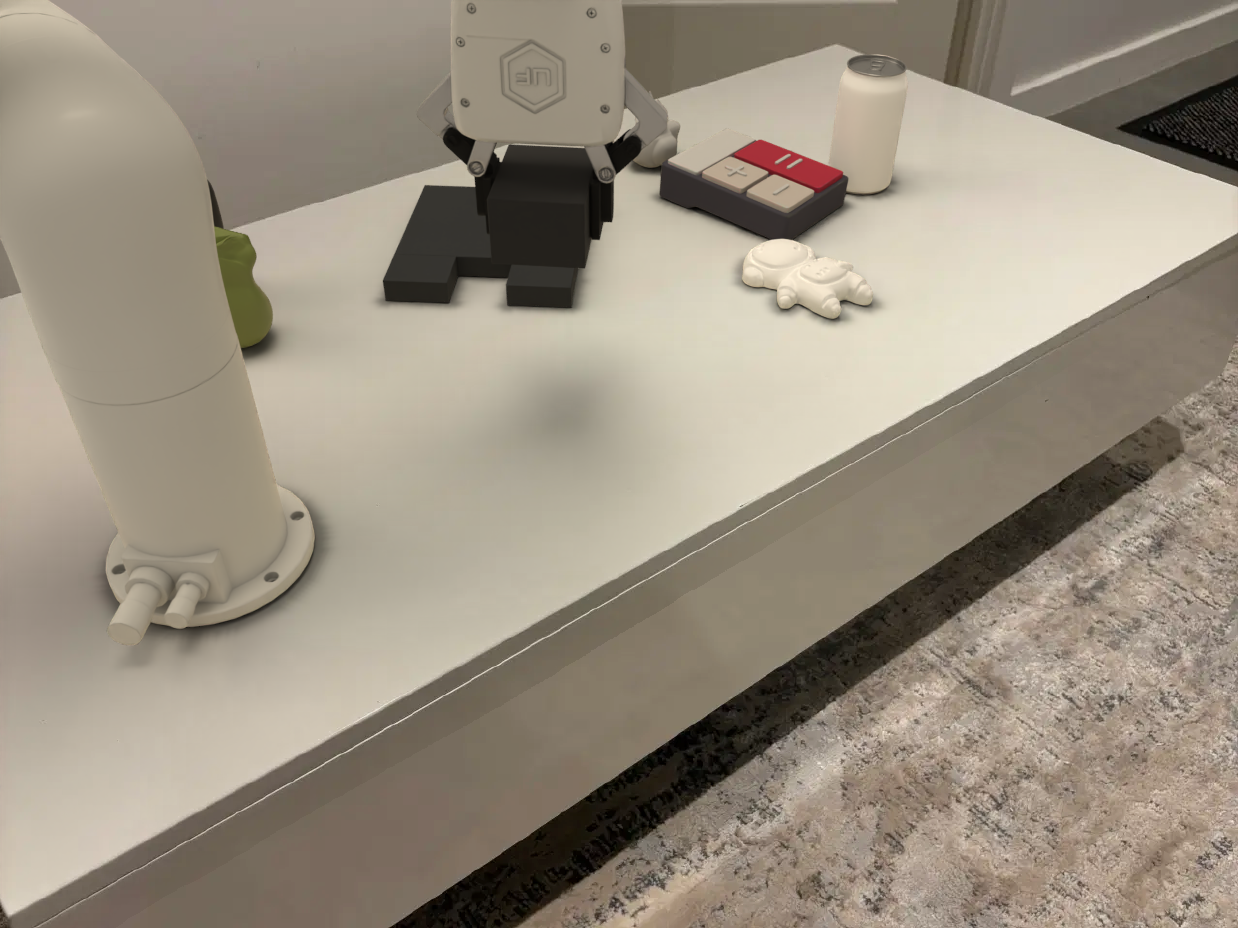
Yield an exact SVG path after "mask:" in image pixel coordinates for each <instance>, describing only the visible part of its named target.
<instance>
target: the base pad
mask: <svg viewBox="0 0 1238 928" xmlns="http://www.w3.org/2000/svg"><path fill="white" fill-rule="evenodd" d="M578 272H579V268H564V267H546V266H528V265H509V264H493V263H492V262H491V248H490V235H489V234H487V230H486V217H485V216H478V213H477V203H476V191H475V186H464V185H461V186H460V185H436V184H435V185H433V184H425V185H424V186H423V188H422V191H421V192H420V195H419V197H418V199H417V202H416V203H415V206H414V209H413V211H412V213H411V215H410V217H409V220H408V223H407V224H406V227H405V229H404V232H403V233H402V236H401V238H400V240H399V243H398V245H397V247H396V249H395V252H394V254H393V256H392V258H391V261H390V262H389V265H388V267H387V270H386V272H385V274H384V277H383V279H382V285H383V292H384V298H385V301H388V302H389V301H390V302H411V303H412V302H416V303H439V304H440V303H443V304H450V301H451V299H452V295H453V292H454V290H455V286H456V284H457V280H458V277H477V278H478V277H479V278H480V277H481V278H506V279H507V280H506V283H505V291H506V305H507V306H514V307H515V306H516V307H517V306H518V307H539V308H541V307H543V308H567V309H569V308H570V309H572V306H573V302H574V295H575V289H576V285H577V277H578Z"/></svg>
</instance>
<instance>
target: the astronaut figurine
mask: <svg viewBox="0 0 1238 928" xmlns="http://www.w3.org/2000/svg"><path fill="white" fill-rule="evenodd" d="M853 269H854V265H853V263H850V262H848V261H844V260H838V259H835V258H830V257H818V258H816V253H815V251H814V249H813V248H812V247H810V246H809V245H806V244H803V243H801V242H798V241H796V240H793V239H792V240H788V239H774V240H771V239H769V240H767V241H766V240H765V241H764V242H761V243H759V244H758V245H756V246H754V247H752V248H751V249H750V250H749V251H748V252H747V254H746V255H745V258H744V260H743V262H742V274H741V279H742V281H743V283H744V284H745V285H747V286H750V287H753V288H766V289H769V290H770V289H771V290H775V291H776V301H777V305H778V307H779V308H780V309H781V310H782V309H783V310H787V309H790V308H792V307H793V306H795V305H796V304H797V305H801V306H803V307H805V308H807V309H808V310H810V311H811V312H813V313H815V314H817V315H819V316H822V317H824V318H827V319H832V320H833V319H836V318H838V317H839V316H840V314H841V312H842V306H841V301H848V302H851V303H854V304H856V305H860V306H869V305H870V304H871V303H872V301H873V298H874V292H873V290H872V286H871V285H870V284H868V282H867V280H866V279H865V278H864V276H861V275H859V274H858V273H856V272H854V271H853Z"/></svg>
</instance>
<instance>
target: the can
mask: <svg viewBox="0 0 1238 928" xmlns="http://www.w3.org/2000/svg"><path fill="white" fill-rule="evenodd" d="M846 65H847V66H846V68H845V69H844V71H843V73H842V74H841V76H840V80H839V86H838V93H837V98H836V107H835V112H834V121H833V128H832V133H831V134H832V135H831V141H830V150H829V155H828V157H829V158H828V164H827V165H828V166H831V167H833V168H836V169H838V170H841V171H843V175H845V176H847V177H848V184H847V189H846V194H850V195H851V194H852V195H862V196H865V195H866V196H867V195H876V194H878V193H881V192H883V191H884V190H885V189H886V188H888V187H889V186H890V185H891V183H892V177H893V172H894V167H895V162H896V156H897V150H898V145H899V140H900V134H901V130H902V129H901V128H902V122H903V117H904V113H905V105H906V100H907V95H908V87H909V81H908V76H907V74H906V71H907V69H908V66H907V64H906V63H905V62H904V61H903V60H901V59H899V58H896V57H893V56H890V55H885V54H876V53H866V54H859V55H855V56H852V57H850V58H849V59H848V60H847V62H846Z"/></svg>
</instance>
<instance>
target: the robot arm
mask: <svg viewBox="0 0 1238 928" xmlns="http://www.w3.org/2000/svg"><path fill="white" fill-rule="evenodd" d="M622 1H623V0H450V24H449V25H450V28H449V29H450V36H449V37H450V38H449V39H450V42H449V43H450V45H449V46H450V48H449V49H450V71H449V72H448V73H446V75H445V76H444V77H443V78H442V79H441V81H440V82H438V83H437V85H436V86H435V87H434V88H433V89H432V90H431V91H430V92H429V93H428V94H427V96H425V97H424V99H423V100H422V102H420V105H419V106H418V108H417V109H416V117H417V118H418V120H419V121H420V122H421V123H423V125H424V126H426V127H427V129H429V130H430V131H431V132H432V133H433V134H434V135H436V137H439V138H440V139H441V140H442V142H443V144H444V145H445V147H446V148H447V149H448V150H449V151H450V152H452V153H453V154H454V155H455V156H456V158H458V159H459V160H460V161H461V162H462V163H464V165H466V170H467V172H468V173H469V174H470V175H471V176H472V177H474V187H475V191H476V203H477V213H478V216H485V217H486V230H487V234H489V222H488V208H487V198H488V195H489V193H490V190H491V188H492V185H493V183H494V180H495V178H496V175H497V173H498V170H499V168H500V165H501V163H502V161H500V160H501V159H500V157H498V155H497V153H495V150H496V147H497V145H498V143H499V144H500V143H501V144H514V145H534V146H556V147H583V148H585V150H586V152H587V155H588V157H589V159H590V162H591V164H592V166H593V168H592V172H591V176H590V180H589V233H590V238H592V240H591V241H601V236H602V232H603V228H604V223H613V220H614V210H615V180H616V176H617V175H618V174H619V173H620V172H622V171H623V169H625V168H626V167H627V166H628V165H629V164H630V163H632V162H633V160H634V159H635V158H636V157H637V156H638V155H639V154H640V152H641V151H642V150H643V149H644V148H645V147H646V146H648V145H649V144H651V143H652V142H653V141H654V140H655V139H656V138H657V137H659V136H660V135H661V134H662V133H663V132H664V131H665V130H666V129H667V125H668V120H669V113H668V114H667V112H668V111H667V112H666V111H665V110H664V109H663V108H662V107H661V106H660V105H659V104H658V103H657V102H656V99H655V98H654V97H652V96H653V95H652V96H651V95H650V94H649V92H648V90H646V88H645V87H644V86H643V85H642V84H641V83H640V82H639V81H638V80H637V79H636V77H635V76H633V74H632V73H631V72H630V71H629V70H628V69H627V62H626V61H627V59H626V58H627V55H626V37H625V23H624V13H623V12H624V11H623V2H622ZM450 105H452V113H451V112H450V110H449V106H450ZM625 108H627V109H628V111H629V112H630V113H631V114H632V115H633V116H634V118H635V117H636V118H637V119H638V121H639V122H638V123H636V122H635V125H634V126H633V127H631V128H629V129H627V130H626V131H625V132H624V133H623V134H622V135H620V132H621V129H622V125H623V121H624V114H625V113H624V112H625ZM619 135H620V136H619ZM618 136H619V137H618ZM617 137H618V138H617ZM207 179H208V177H207V174H206V169H205V167H204V163H203V161H202V159H201V156H200V153H199V151H198V149H197V147H196V144H195V142H194V140H193V139H192V137H191V135H190V133H189V131H188V129H187V127H186V125H184V122H182V120H181V119H180V117H179V116H178V114H177V113H176V112H175V110H174V109H173V108H172V106H171V105H170V104H169V103H168V102H167V100H166V99H165V97H163V96H162V95H161V93H160V92H159V91H157V89H156V88H155V87H154V86H153V85H152V84H150V82H149V81H148V80H146V78H145V77H143V75H141V74H140V72H138V70H137V69H135V68H134V67H133V66H132V65H131V64H130V63H128V62H127V61H126V60H125V59H124V58H123V57H121V56H120V55H119V54H118V53H117V52H116V51H115V50H113V48H111V46H110V45H109V44H108V43H106V41H104V40H103V38H101V37H100V36H99V35H98V34H97V33H96V32H94V31H93V30H92V29H91V28H89V27H88V26H86V25H85V24H84V23H83V22H81V21H80V20H79V19H77V18H76V17H74V15H72V14H71V13H69V12H67V11H66V10H64V9H63V8H61V7H59V6H58V5H57V4H55V3H53V2H52V1H51V0H0V242H1V244H2V247H3V248H4V251H5V253H6V256H7V258H8V260H9V263H10V265H11V268H12V271H13V274H14V276H15V280H16V281H17V285H18V287H19V290H20V293H21V295H22V298H23V301H24V303H25V306H26V309H27V312H28V314H29V317H30V320H31V323H32V324H33V327H34V330H35V332H36V335H37V338H38V340H39V342H40V346H41V348H42V351H43V353H44V355H45V357H46V360H47V362H48V365H49V368H50V371H51V373H52V375H53V377H54V380H55V382H56V384H57V385H58V388H59V390H60V392H61V396H62V397H63V399H64V403H65V404H66V407H67V409H68V412H69V414H70V417H71V419H72V422H73V424H74V427H75V430H76V432H77V434H78V437H79V439H80V442H81V444H82V447H83V449H84V452H85V454H86V456H87V459H88V461H89V464H90V466H91V469H92V471H93V474H94V477H95V479H96V482H97V484H98V486H99V488H100V491H101V494H102V496H103V498H104V501H105V503H106V506H107V508H108V511H109V513H110V516H111V518H112V521H113V523H114V525H115V528H116V530H117V533H116V535H115V536H114V538H113V540H112V542H111V543H110V545H109V547H108V552H107V554H106V557H105V574H106V578H107V582H108V585H109V587H110V589H111V591H112V593H113V595H114V597H115V599H116V601H117V602H119V606H118V608H117V609H116V611H115V613H114V615H113V617H112V619H111V620H110V622H109V624H108V626H107V629H106V633H107V635H108V637H109V638H110V639H112V640H113V641H114V642H116V643H118V644H121V645H124V646H131V647H133V646H136V645H139V644H140V642H141V641H142V640H143V638H144V636H145V634H146V633H147V630H148V628H149V626H150V624H151V623H152V624H156V625H161V626H168V627H171V628H174V629H177V630H181V629H185V628H186V627H188V628H189V627H190V628H194V627H199V626H200V627H202V626H210V625H215V624H219V623H223V622H227V621H230V620H235V619H237V618H240V617H242V616H244V615H247V614H250V613H253V612H254V611H256V610H258V609H260V608H262V607H264V606H265V605H267V604H270V602H273V601H275V599H276V598H278V597H279V596H280V595H282V594H283V593H285V592H286V591H287V590H288V589H289V588H290V587H291V586H292V585H293V584H294V583H295V582H296V581H297V580H298V579H299V578H300V576H301V575H302V574H303V572H304V570H305V569H306V567H307V566H308V564H309V563H310V560H311V557H312V554H313V552H314V548H315V539H316V535H315V530H314V523H313V520H312V517H311V514H310V511H309V509H308V508H307V506H306V505H305V503H304V502H303V501H302V499H300V497H298V496H297V495H296V494H294V493H293V491H290V490H289V489H288V488H285V487H284V486H282V485H279V484H278V483H277V481H276V477H275V472H274V469H273V466H272V462H271V457H270V454H269V449H268V447H267V442H266V439H265V435H264V431H263V427H262V424H261V420H260V415H259V413H258V408H257V404H256V401H255V396H254V393H253V390H252V386H251V382H250V377H249V373H248V371H247V367H246V363H245V358H244V356H243V351H242V348H241V347H240V344H239V340H238V336H237V334H236V331H235V327H234V324H233V320H232V316H231V312H230V308H229V304H228V300H227V296H226V292H225V288H224V284H223V279H222V275H221V270H220V265H219V260H218V254H217V247H216V240H215V231H214V221H213V212H212V204H211V197H210V191H209V186H208V181H209V180H208V181H207Z"/></svg>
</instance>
